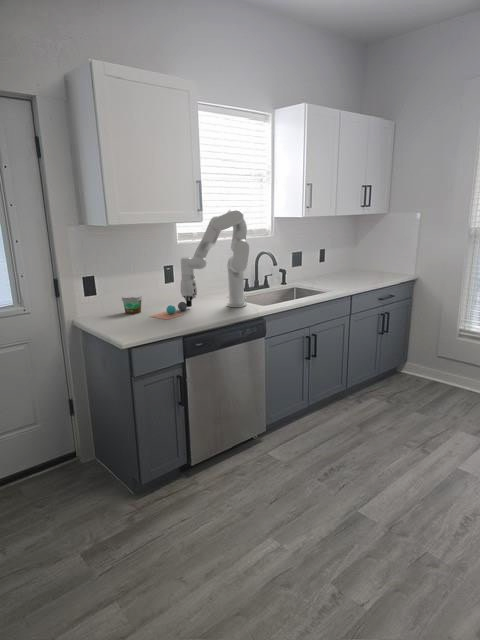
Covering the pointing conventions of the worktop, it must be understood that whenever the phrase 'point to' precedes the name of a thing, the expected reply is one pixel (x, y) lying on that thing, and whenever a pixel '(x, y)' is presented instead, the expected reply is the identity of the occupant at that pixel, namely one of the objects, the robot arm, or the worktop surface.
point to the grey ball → (182, 306)
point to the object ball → (171, 309)
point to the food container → (132, 305)
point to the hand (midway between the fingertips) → (189, 306)
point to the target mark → (166, 315)
